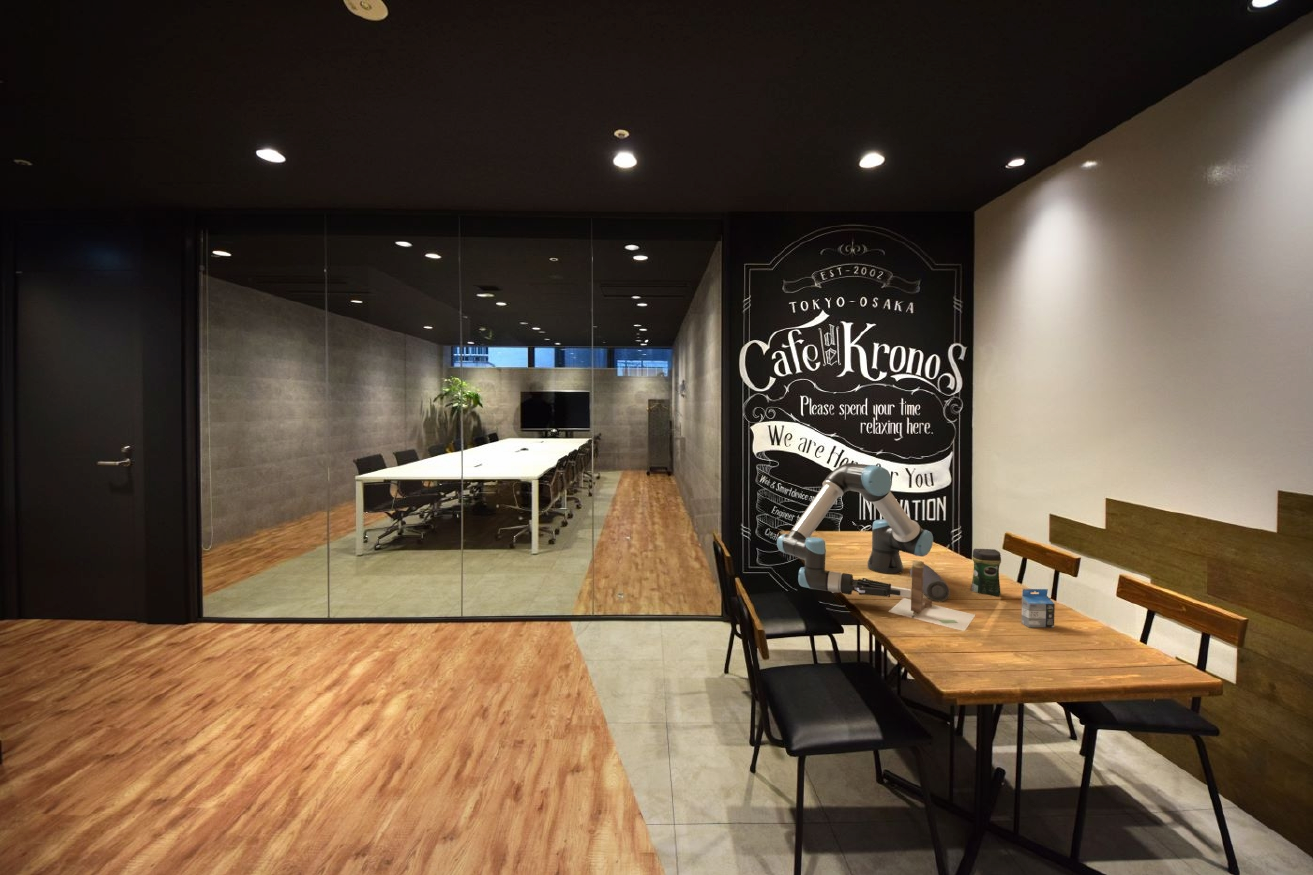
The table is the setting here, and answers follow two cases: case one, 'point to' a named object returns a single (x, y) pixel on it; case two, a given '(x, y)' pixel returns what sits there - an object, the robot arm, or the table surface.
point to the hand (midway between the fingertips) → (910, 593)
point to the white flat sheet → (935, 615)
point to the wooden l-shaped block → (918, 588)
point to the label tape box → (1037, 608)
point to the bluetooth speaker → (934, 585)
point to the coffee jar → (986, 572)
